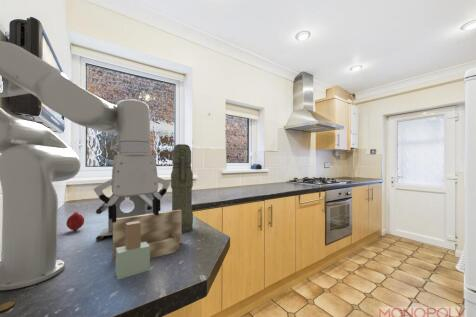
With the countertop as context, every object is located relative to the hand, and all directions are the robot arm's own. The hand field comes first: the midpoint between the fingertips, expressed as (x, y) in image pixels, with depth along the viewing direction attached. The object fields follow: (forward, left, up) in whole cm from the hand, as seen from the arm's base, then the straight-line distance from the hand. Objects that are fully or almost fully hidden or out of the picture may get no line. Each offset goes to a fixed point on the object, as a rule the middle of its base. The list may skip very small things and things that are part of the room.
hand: (135, 217), depth 52 cm
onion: (-13, +51, -13) cm, 55 cm away
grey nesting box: (+3, +33, -14) cm, 36 cm away
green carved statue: (+22, +25, -13) cm, 36 cm away
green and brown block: (-1, 0, -13) cm, 13 cm away
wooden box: (+6, +9, -13) cm, 17 cm away
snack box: (+15, +51, -14) cm, 55 cm away
